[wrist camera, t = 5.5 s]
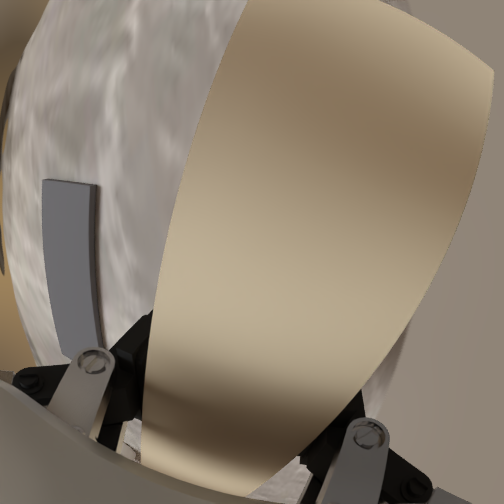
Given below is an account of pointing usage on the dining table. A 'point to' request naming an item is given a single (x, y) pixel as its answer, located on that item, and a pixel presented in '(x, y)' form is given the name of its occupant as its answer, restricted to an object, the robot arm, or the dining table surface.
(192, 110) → the dining table surface
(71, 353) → the tool pad
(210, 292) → the grooved wooden block
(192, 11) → the dining table surface
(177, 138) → the dining table surface
